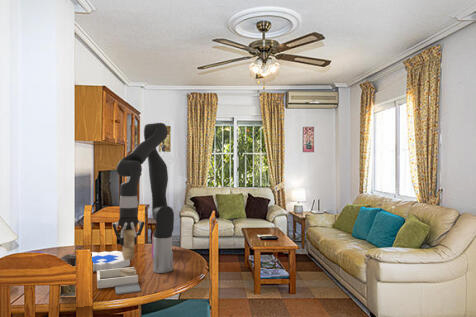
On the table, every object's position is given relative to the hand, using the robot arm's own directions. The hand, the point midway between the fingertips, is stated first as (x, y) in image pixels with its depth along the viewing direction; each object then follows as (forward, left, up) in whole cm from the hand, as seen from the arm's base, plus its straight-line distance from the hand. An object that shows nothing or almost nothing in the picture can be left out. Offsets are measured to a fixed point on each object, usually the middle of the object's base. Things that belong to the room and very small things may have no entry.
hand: (128, 245), depth 150 cm
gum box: (-25, -56, -19) cm, 64 cm away
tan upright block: (0, 0, -5) cm, 5 cm away
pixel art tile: (+9, -44, -19) cm, 49 cm away
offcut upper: (-1, -12, -17) cm, 21 cm away
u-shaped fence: (+4, -13, -19) cm, 23 cm away
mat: (0, 0, -19) cm, 19 cm away
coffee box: (+21, -1, -19) cm, 28 cm away
